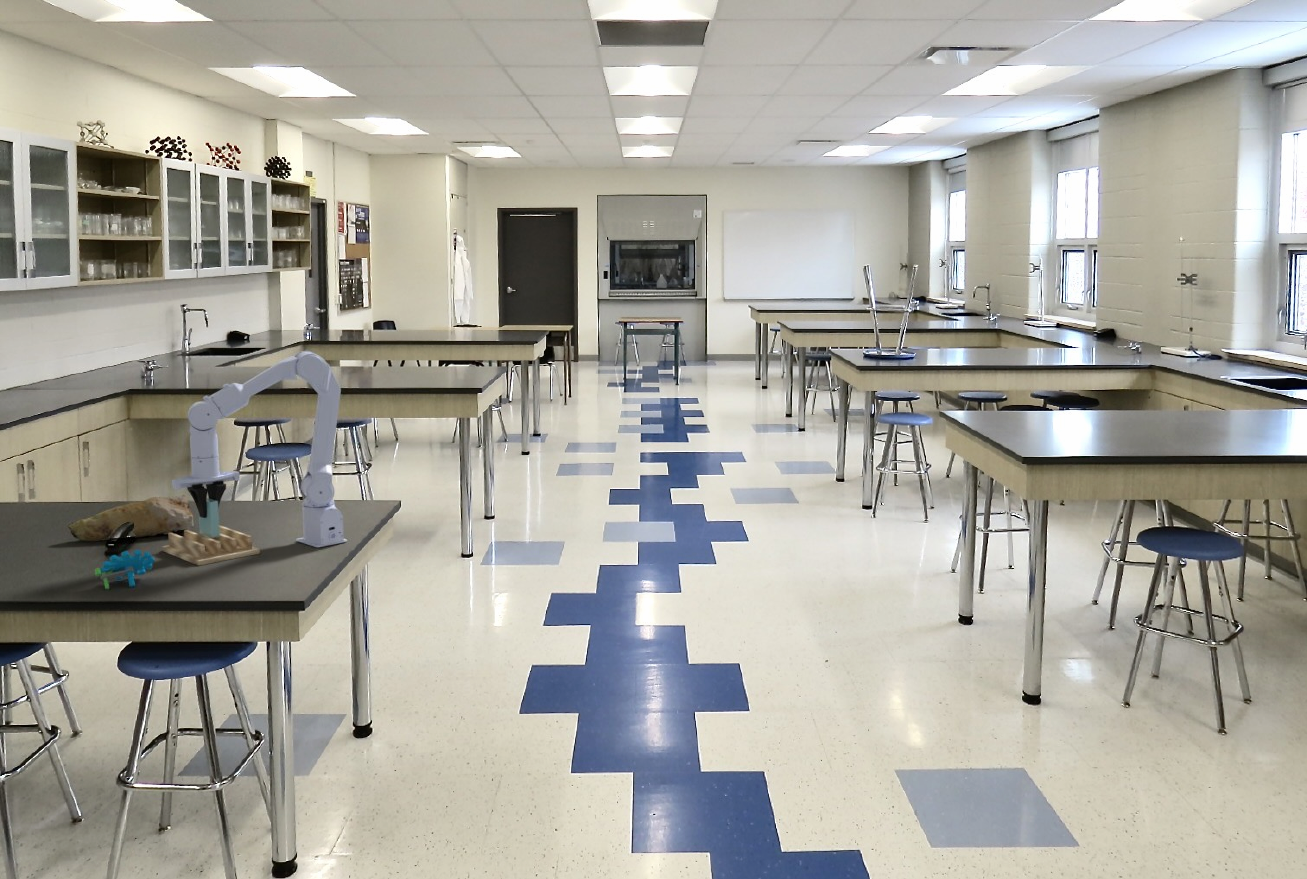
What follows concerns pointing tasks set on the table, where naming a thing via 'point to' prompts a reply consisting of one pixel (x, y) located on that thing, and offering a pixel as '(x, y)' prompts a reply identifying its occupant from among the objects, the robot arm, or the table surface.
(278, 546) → the table surface
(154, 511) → the mineral
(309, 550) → the table surface
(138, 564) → the toy stegosaurus
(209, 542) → the rack
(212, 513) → the teal rectangular block
